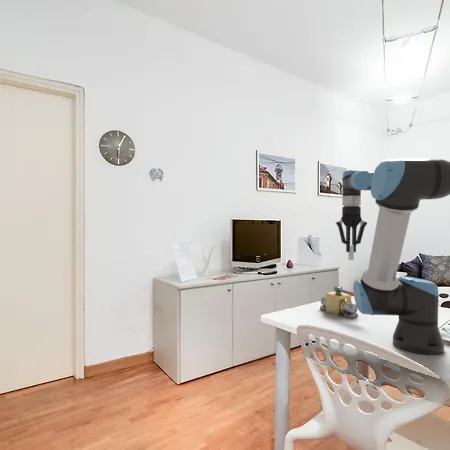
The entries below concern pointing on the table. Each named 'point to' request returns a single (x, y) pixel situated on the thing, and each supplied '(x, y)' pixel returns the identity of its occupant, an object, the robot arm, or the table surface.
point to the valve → (339, 304)
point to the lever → (343, 290)
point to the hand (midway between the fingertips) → (350, 259)
